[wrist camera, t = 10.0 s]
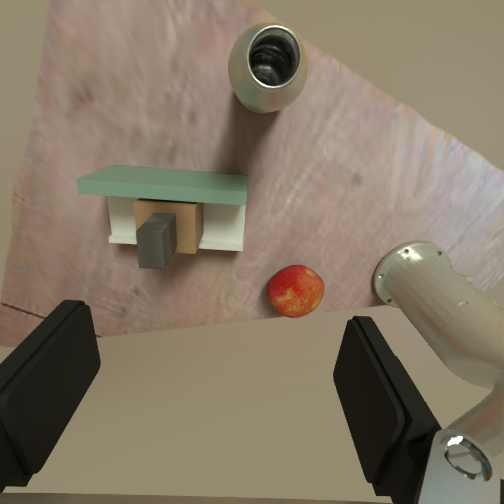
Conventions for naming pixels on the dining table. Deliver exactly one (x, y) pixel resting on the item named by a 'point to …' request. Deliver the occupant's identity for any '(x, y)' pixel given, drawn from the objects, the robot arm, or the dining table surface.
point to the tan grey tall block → (166, 229)
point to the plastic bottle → (267, 67)
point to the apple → (295, 291)
